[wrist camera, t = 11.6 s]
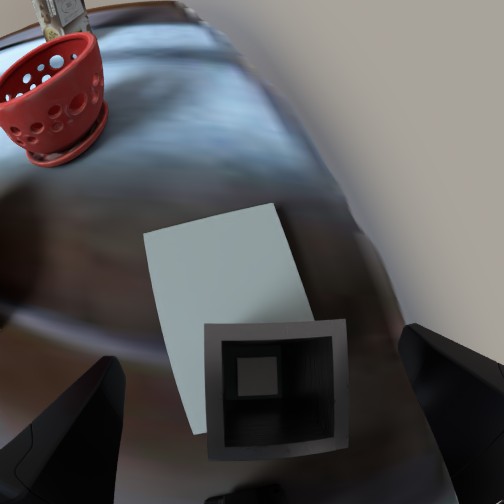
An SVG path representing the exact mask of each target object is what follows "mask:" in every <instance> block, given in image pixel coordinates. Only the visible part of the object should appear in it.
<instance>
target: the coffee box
mask: <svg viewBox="0 0 504 504" xmlns="http://www.w3.org/2000/svg"><path fill="white" fill-rule="evenodd" d="M32 2H33V5H34V8H35V11H36V14H37V17H38V20H39V23H40V26H41V29H42V31H43V34H44V37H45V39H46V42H48V41H50V40H53V39H55V38H58V37H61V36H64V35H67V34H71V33H77V32H89V33H91V34H92V32H91V28H90V24H89V20H88V16H87V12H86V8H85V4H84V0H32Z"/></svg>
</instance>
